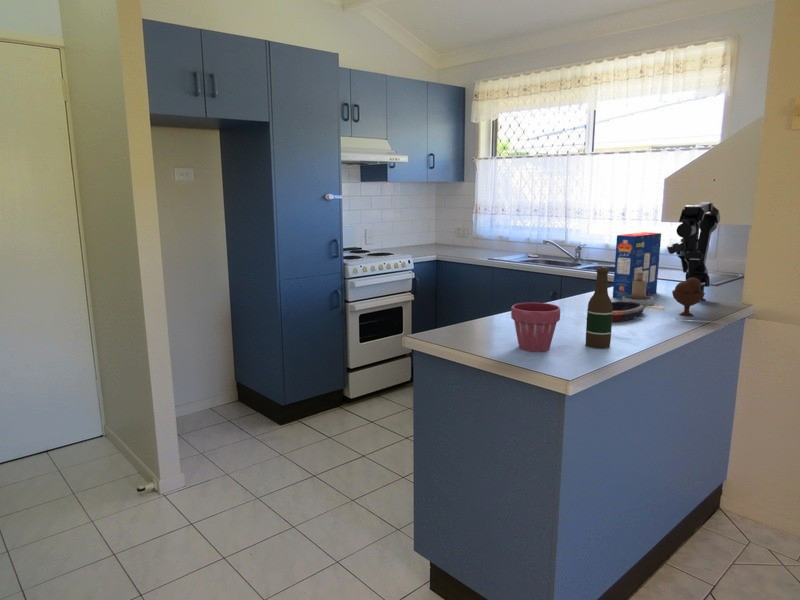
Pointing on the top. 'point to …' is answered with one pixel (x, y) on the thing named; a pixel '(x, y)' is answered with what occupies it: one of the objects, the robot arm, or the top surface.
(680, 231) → the robot arm
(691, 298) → the ice cream bowl
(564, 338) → the top surface
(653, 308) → the coaster
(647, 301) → the slate dish
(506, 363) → the top surface
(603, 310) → the beer bottle
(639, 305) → the dish
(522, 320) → the plant pot
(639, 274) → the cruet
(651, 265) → the pasta box
